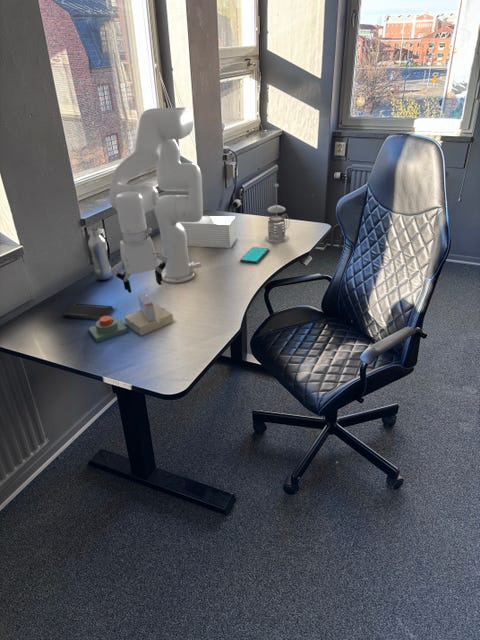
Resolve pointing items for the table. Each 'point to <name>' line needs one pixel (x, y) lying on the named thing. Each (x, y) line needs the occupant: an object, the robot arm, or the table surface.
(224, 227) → the white storage box
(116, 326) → the button box
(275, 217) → the french press
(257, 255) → the smartphone
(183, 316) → the table surface
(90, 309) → the phone
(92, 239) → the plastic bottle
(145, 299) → the grey block
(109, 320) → the button
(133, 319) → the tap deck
